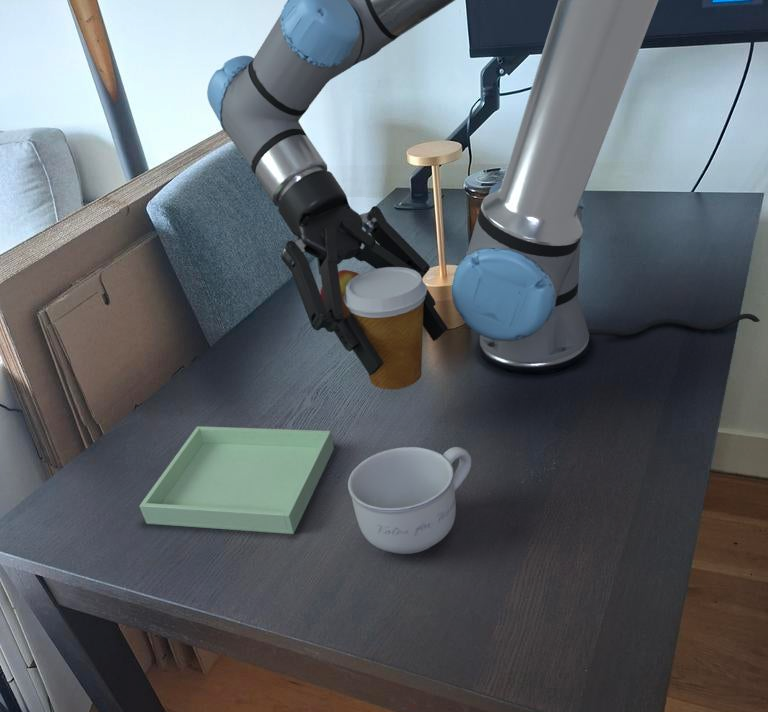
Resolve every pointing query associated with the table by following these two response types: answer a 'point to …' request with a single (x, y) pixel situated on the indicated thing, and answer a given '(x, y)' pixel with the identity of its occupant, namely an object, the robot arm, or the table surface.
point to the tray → (240, 479)
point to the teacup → (407, 496)
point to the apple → (343, 287)
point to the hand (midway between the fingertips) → (409, 351)
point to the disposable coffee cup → (390, 321)
